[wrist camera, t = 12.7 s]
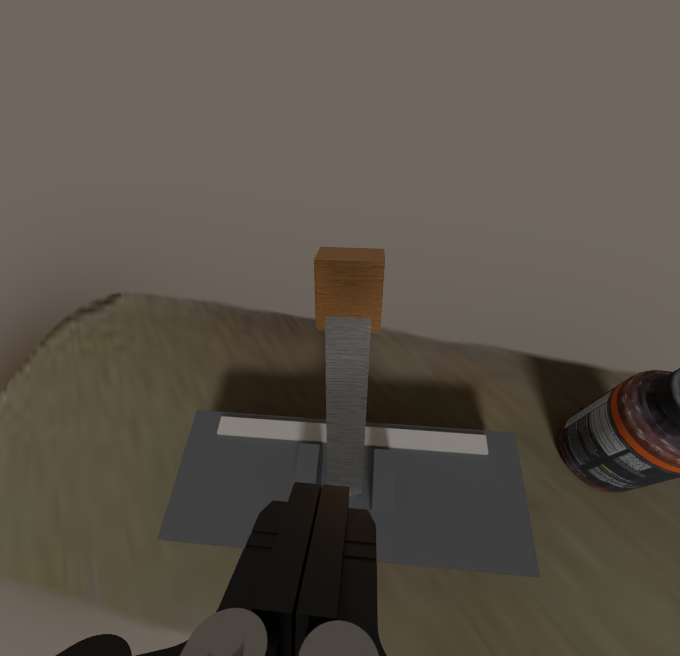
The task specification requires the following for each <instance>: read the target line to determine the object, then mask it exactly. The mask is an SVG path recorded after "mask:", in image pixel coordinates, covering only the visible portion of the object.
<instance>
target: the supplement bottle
mask: <svg viewBox="0 0 680 656" xmlns="http://www.w3.org/2000/svg"><path fill="white" fill-rule="evenodd" d="M580 409H582V410H580V411H579V412H578V413H576V414H574V415H573V416H572V417H571V418H569V419H568V420H567V421H566V422H565V423H564V425H563V426H562V428H561V430H560V433H559V439H558V440H559V448H560V452H561V455H562V457H563V459H564V461H565V463H566V464H567V466H568V467H569V469H570V470H571V471H572V472H573V473H574V474H575V475H576V476H577V477H578V478H579V479H580V480H582V481H583V482H585V483H586V484H588V485H590V486H592V487H594V488H596V489H599V490H602V491H606V492H624V491H628V490H632V489H636V488H640V487H644V486H648V485H651V484H655V483H659V482H663V481H667V480H671V479H675V478H679V477H680V368H679V369H678V370H676V371H674V372H668V371H661V370H660V371H658V370H652V371H645V372H641V373H638V374H636V375H634V376H632V377H630V378H629V379H627V380H626V381H624V382H622V383H621V384H619V385H617V386H616V387H615V388H613V389H612V390H611V391H609V392H607V393H606V394H604V395H602V396H601V397H599V398H598V399H597V400H595V401H594V402H592V403H591V404H589V405H588V406H587V407H585V408H580Z"/></svg>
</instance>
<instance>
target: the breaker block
mask: <svg viewBox="0 0 680 656" xmlns="http://www.w3.org/2000/svg"><path fill="white" fill-rule="evenodd" d="M295 482H301V483H312V484H321V485H322V487H323V485H327V428H326V419H314V418H300V417H286V416H272V415H257V414H243V413H229V412H215V411H201V410H197V412H196V415H195V419H194V422H193V425H192V428H191V432H190V435H189V438H188V441H187V445H186V448H185V451H184V455H183V458H182V461H181V464H180V468H179V471H178V474H177V477H176V481H175V484H174V487H173V491H172V494H171V497H170V500H169V504H168V507H167V510H166V514H165V517H164V520H163V523H162V527H161V530H160V533H159V536H158V540H168V541H178V542H188V543H199V544H209V545H219V546H229V547H239V548H245V546H246V543H247V540H248V538H249V536H250V534H251V532H252V529H253V526H254V524H255V522H256V519H257V517H258V515H259V513H260V512H261V511H262V510H263V509H264V508H265V507H266V506H267V505H268V504H269V503H270V502H271V501H273V500H274V501H284V502H288V499H289V496H290V494H291V491H292V488H293V485H294V483H295ZM349 508H356V509H366V510H368V511H369V513H370V515H371V517H372V519H373V520H374V522H375V524H376V553H377V560H376V561H379V562H389V563H399V564H409V565H419V566H429V567H439V568H449V569H459V570H469V571H479V572H489V573H500V574H510V575H520V576H530V577H540V576H539V570H538V564H537V559H536V553H535V547H534V541H533V536H532V530H531V524H530V519H529V513H528V507H527V501H526V496H525V490H524V484H523V479H522V473H521V467H520V461H519V456H518V450H517V444H516V438H515V433H513V432H499V431H485V430H470V429H456V428H442V427H428V426H414V425H399V424H385V423H371V422H366V425H365V442H364V460H363V478H362V496H361V497H351V496H349Z"/></svg>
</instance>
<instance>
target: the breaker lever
mask: <svg viewBox="0 0 680 656" xmlns="http://www.w3.org/2000/svg"><path fill="white" fill-rule="evenodd" d="M384 267H385V256H384V249H368V248H336V247H320V249H319V251H318V253H317V255H316V257H315V259H314V273H315V309H316V330H325V360H326V428H327V485H334V486H345V487H350V490H349V496H351V497H361V496H362V478H363V460H364V442H365V425H366V407H367V389H368V371H369V353H370V335H371V333H380V323H381V310H382V295H383V281H384Z"/></svg>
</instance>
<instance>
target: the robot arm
mask: <svg viewBox="0 0 680 656" xmlns="http://www.w3.org/2000/svg"><path fill="white" fill-rule="evenodd" d="M349 490H350V487H345V486H334V485H323V487H322V485H321V484H312V483H301V482H295V483H294V485H293V488H292V491H291V494H290V496H289V499H288V502H284V501H274V500H273V501H271V502H270V503H269V504H268V505H267V506H266V507H265V508H264V509H263V510H262V511H261V512H260V513H259V515H258V517H257V519H256V522H255V524H254V526H253V529H252V532H251V534H250V536H249V538H248V540H247V543H246V546H245V549H244V550H243V552H242V554H241V557H240V559H239V561H238V564H237V566H236V568H235V571H234V573H233V575H232V578H231V580H230V582H229V585H228V587H227V589H226V592H225V594H224V596H223V599H222V601H221V603H220V606H219V608H218V610H217V612H216V613H215V614H213V615H211V616H210V617H208V618H207V619H205V620H204V621H203V622H202V623H201V624H200V625H199V626H198V627H197V628H196V629H195V631H194V632H193V633H192V635H191V636H190V638H189V640H187V641H186V642H184V643H181V644H179V645H177V646H174V647H170V648H167V649H163V650H158V651H154V652H149V653H145V654H140V655H136V656H387V655H386V654H385V652H384V650H383V648H382V645H381V642H380V639H379V635H378V626H377V563H376V560H377V553H376V524H375V522H374V520H373V519H372V517H371V515H370V513H369V511H368V510H366V509H356V508H349ZM56 656H132V655H131V650H130V647H129V645H128V643H127V642H126V641H125V640H124V639H123V638H121V637H119V636H117V635H112V634H102V635H96V636H92V637H89V638H86V639H84V640H82V641H80V642H78V643H76V644H74V645H72V646H70V647H69V648H67V649H66V650H65V651H62V652H61V653H59V654H58V655H56Z"/></svg>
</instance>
